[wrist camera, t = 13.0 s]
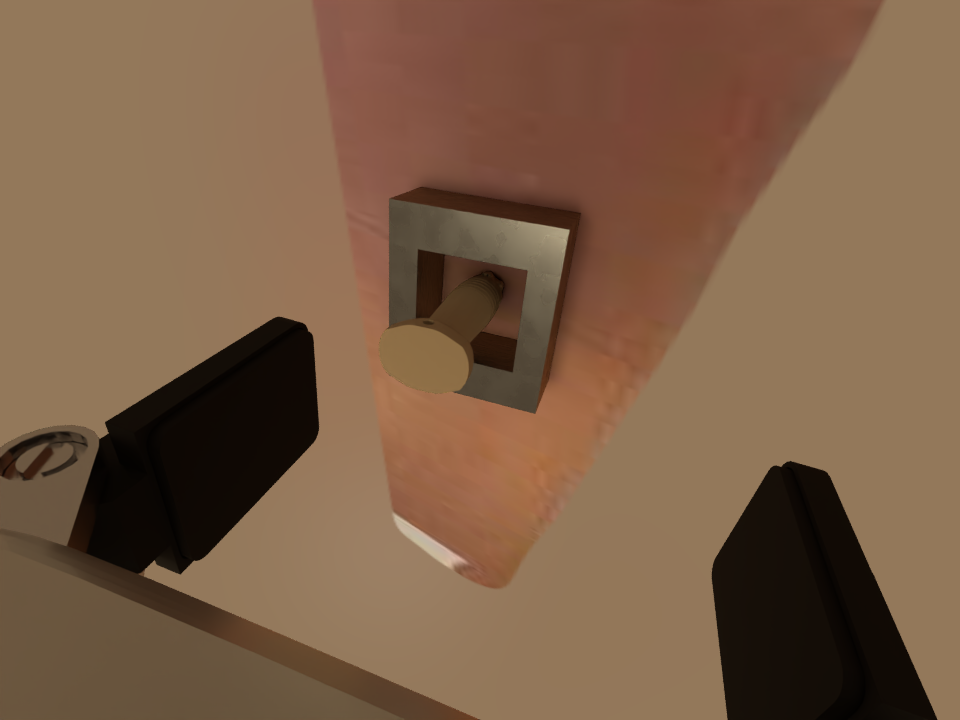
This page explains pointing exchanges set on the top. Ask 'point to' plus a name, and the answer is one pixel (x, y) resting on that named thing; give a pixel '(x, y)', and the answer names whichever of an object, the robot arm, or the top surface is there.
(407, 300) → the socket block
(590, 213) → the top surface
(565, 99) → the top surface
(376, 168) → the top surface
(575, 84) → the top surface
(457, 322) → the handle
